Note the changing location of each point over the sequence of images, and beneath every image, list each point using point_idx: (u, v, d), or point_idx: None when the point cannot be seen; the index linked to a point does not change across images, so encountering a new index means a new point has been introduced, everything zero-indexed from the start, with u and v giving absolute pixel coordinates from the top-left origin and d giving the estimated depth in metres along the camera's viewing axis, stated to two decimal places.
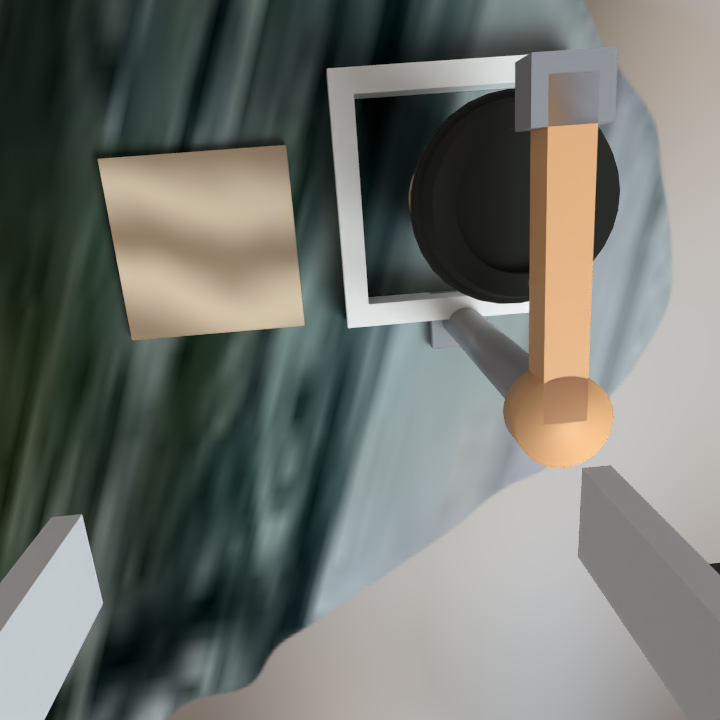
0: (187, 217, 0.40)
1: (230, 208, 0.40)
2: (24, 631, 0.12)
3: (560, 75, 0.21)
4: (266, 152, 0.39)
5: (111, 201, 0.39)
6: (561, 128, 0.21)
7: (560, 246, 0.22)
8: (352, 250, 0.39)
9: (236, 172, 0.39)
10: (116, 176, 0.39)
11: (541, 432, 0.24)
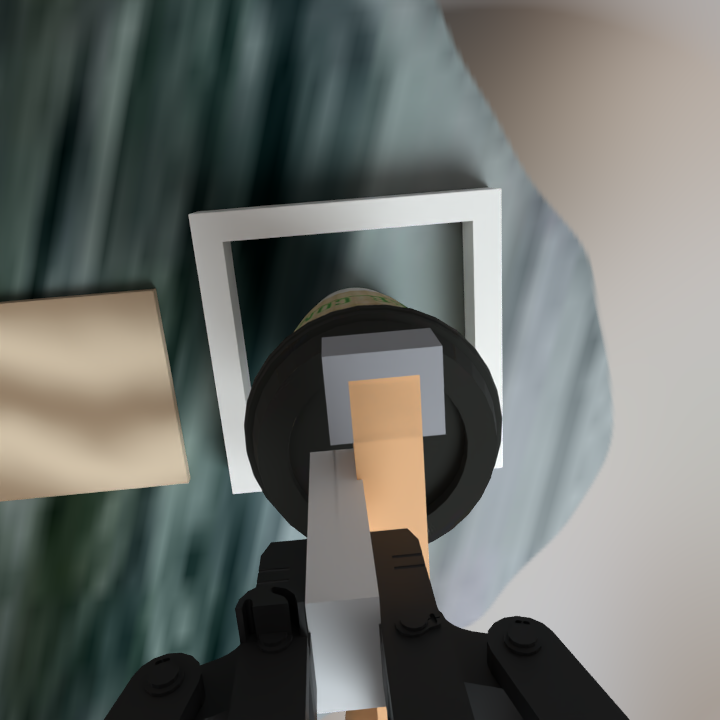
0: (43, 371, 0.34)
1: (93, 360, 0.34)
2: None
3: (364, 382, 0.15)
4: (130, 299, 0.33)
5: None
6: (372, 444, 0.16)
7: None
8: (231, 412, 0.34)
9: (97, 321, 0.34)
10: None
11: None
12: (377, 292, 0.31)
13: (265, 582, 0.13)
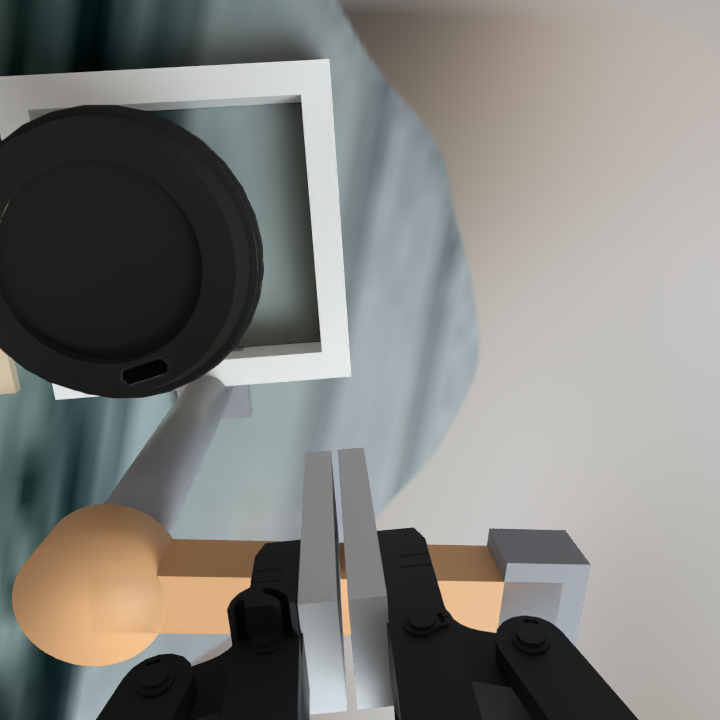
0: None
1: None
2: (335, 533, 0.15)
3: (558, 595, 0.17)
4: None
5: None
6: (499, 596, 0.17)
7: None
8: None
9: None
10: None
11: (74, 572, 0.16)
12: None
13: (259, 583, 0.13)
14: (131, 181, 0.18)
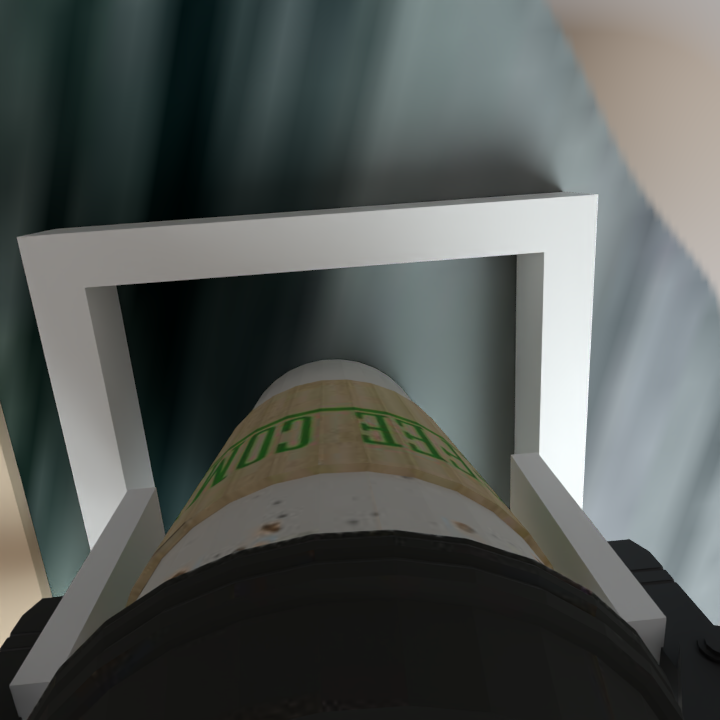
0: None
1: None
2: (120, 587, 0.13)
3: None
4: None
5: None
6: None
7: None
8: None
9: None
10: None
11: None
12: (370, 383, 0.17)
13: (10, 649, 0.12)
14: None
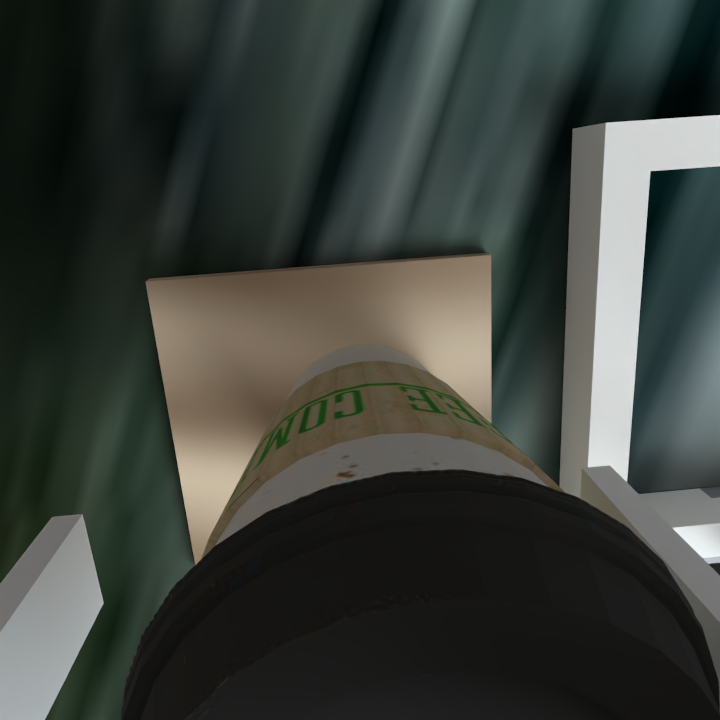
0: None
1: None
2: (25, 630, 0.12)
3: None
4: (454, 268, 0.21)
5: (168, 354, 0.21)
6: None
7: None
8: (606, 446, 0.21)
9: (398, 302, 0.21)
10: (179, 311, 0.21)
11: None
12: (406, 364, 0.18)
13: None
14: (534, 689, 0.08)
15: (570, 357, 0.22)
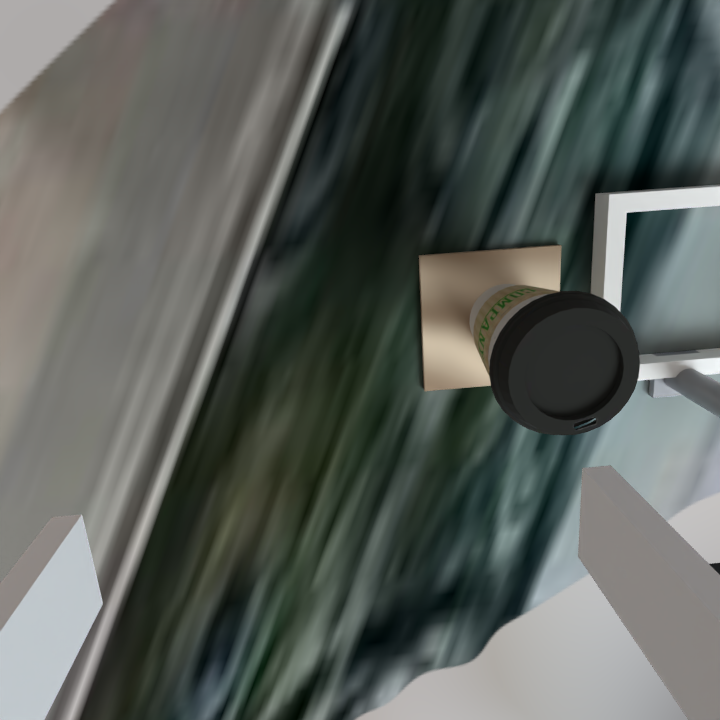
0: None
1: None
2: (24, 630, 0.12)
3: None
4: (546, 251, 0.51)
5: (425, 287, 0.51)
6: None
7: None
8: None
9: (522, 265, 0.51)
10: (431, 268, 0.50)
11: None
12: None
13: None
14: (595, 333, 0.37)
15: (593, 290, 0.52)
